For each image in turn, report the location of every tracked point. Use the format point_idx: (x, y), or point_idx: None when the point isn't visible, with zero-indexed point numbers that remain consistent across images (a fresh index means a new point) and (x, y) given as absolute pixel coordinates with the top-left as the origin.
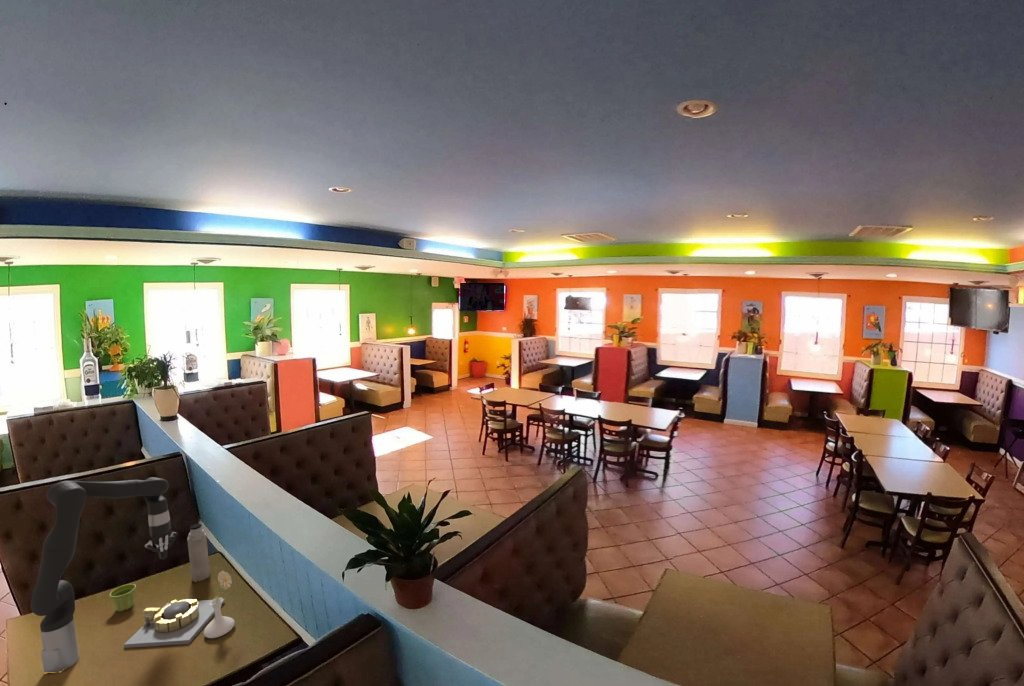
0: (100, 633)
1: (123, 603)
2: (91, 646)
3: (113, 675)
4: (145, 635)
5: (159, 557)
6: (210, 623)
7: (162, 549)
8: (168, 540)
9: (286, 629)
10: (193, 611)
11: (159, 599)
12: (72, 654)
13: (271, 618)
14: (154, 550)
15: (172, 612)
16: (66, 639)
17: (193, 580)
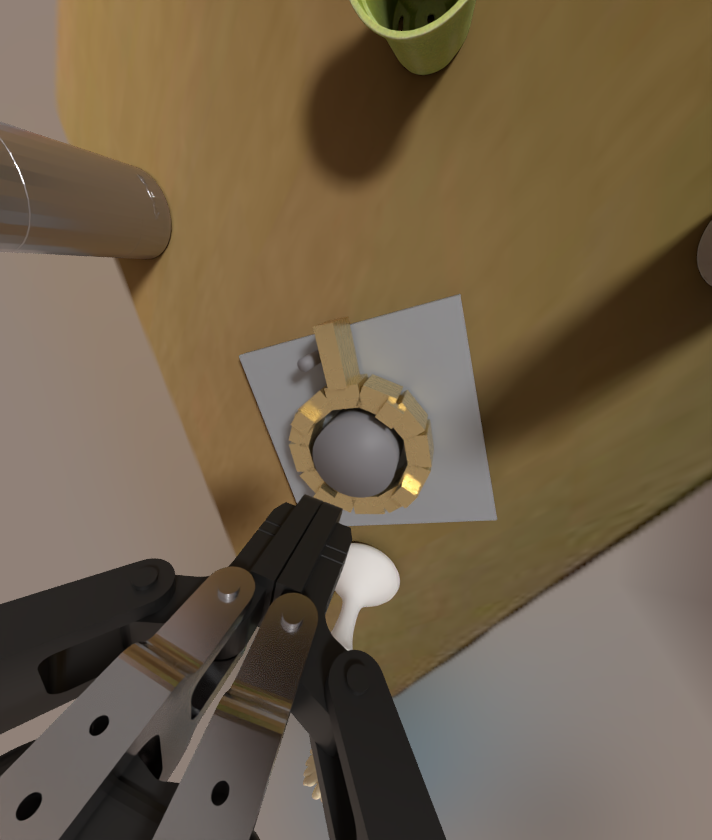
0: (261, 157)
1: (391, 44)
2: (211, 215)
3: (185, 419)
4: (284, 390)
5: (279, 508)
6: (342, 576)
7: (224, 659)
8: (355, 798)
9: (397, 685)
10: (368, 512)
11: (511, 185)
12: (120, 256)
13: (429, 653)
14: (88, 654)
15: (327, 468)
16: (36, 253)
17: (707, 233)
